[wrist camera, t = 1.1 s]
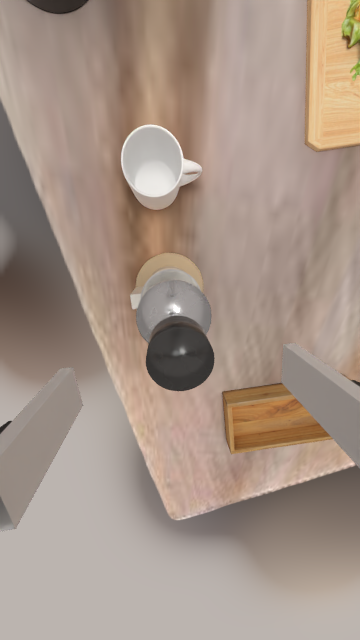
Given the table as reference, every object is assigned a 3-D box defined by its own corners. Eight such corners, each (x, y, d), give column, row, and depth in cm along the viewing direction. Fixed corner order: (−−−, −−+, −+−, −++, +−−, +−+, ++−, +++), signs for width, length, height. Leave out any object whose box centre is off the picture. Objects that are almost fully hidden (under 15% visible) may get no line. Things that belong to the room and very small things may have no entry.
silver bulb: (131, 283, 24) (105, 307, 13) (208, 276, 24) (241, 293, 14) (142, 353, 26) (127, 419, 16) (211, 345, 27) (242, 406, 16)
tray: (225, 437, 59) (231, 456, 54) (221, 390, 55) (227, 405, 49) (335, 420, 60) (352, 436, 55) (340, 372, 56) (359, 385, 50)
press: (131, 256, 43) (117, 257, 31) (200, 249, 44) (215, 248, 31) (141, 322, 48) (132, 348, 35) (204, 316, 48) (218, 338, 35)
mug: (198, 208, 42) (208, 193, 32) (135, 212, 41) (125, 199, 31) (196, 155, 39) (207, 121, 29) (129, 159, 39) (116, 125, 28)
